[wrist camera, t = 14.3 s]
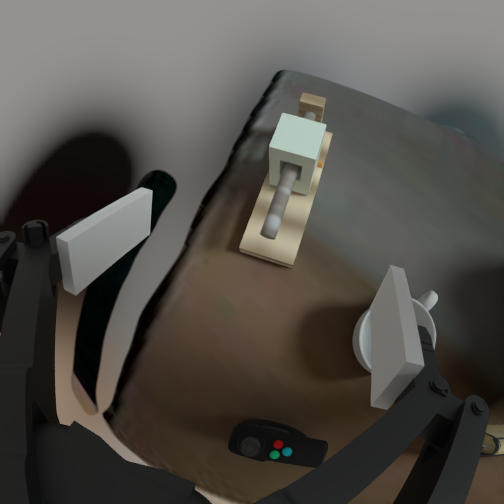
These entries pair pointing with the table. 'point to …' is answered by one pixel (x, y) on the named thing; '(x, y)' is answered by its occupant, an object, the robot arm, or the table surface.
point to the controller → (276, 443)
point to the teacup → (364, 327)
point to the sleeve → (296, 150)
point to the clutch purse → (493, 441)
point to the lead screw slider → (285, 203)
